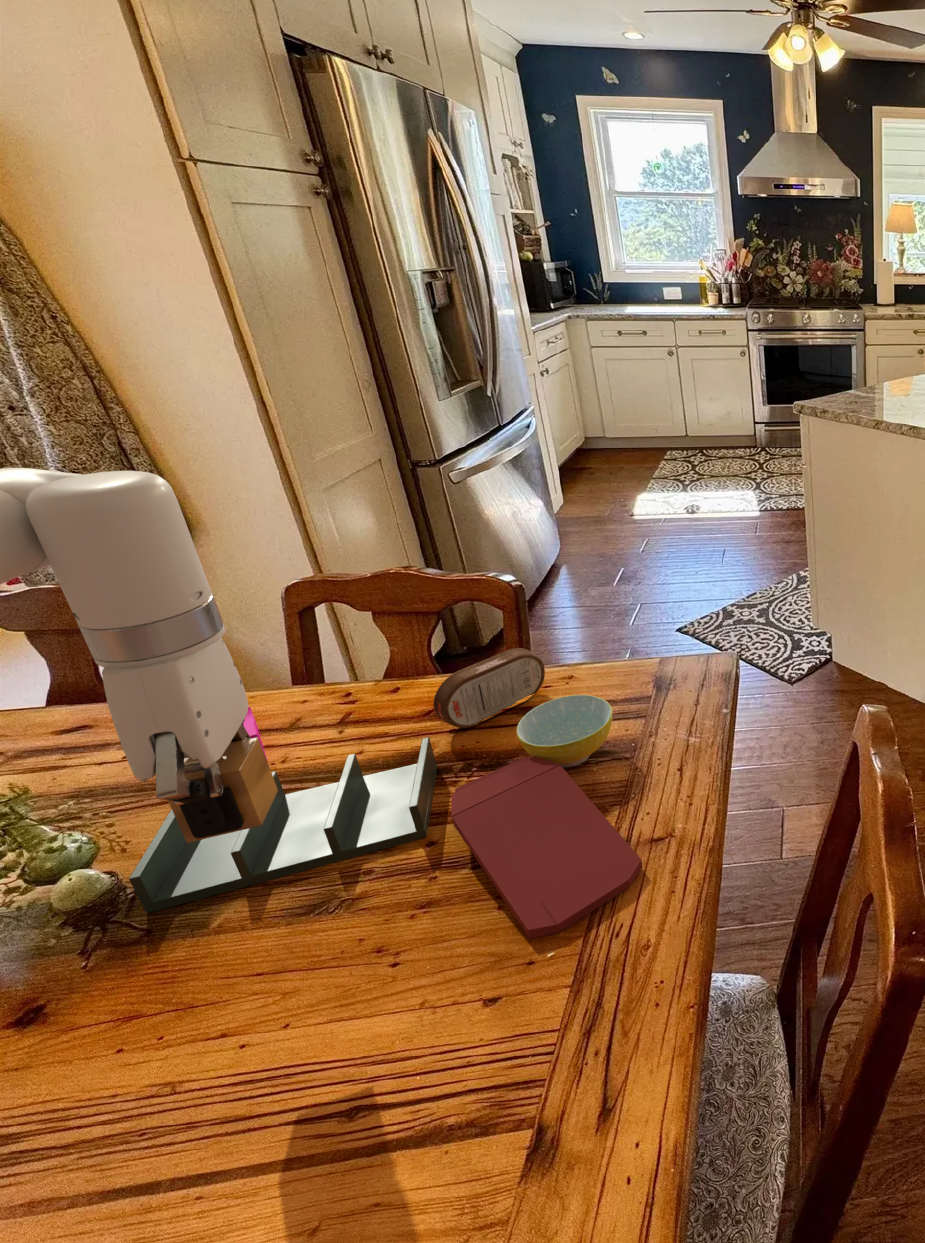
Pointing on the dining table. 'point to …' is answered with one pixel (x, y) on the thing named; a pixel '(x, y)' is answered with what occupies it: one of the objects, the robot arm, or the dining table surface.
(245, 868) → the rack
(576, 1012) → the dining table surface
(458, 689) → the tin
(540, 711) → the bowl
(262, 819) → the package
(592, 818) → the carton
